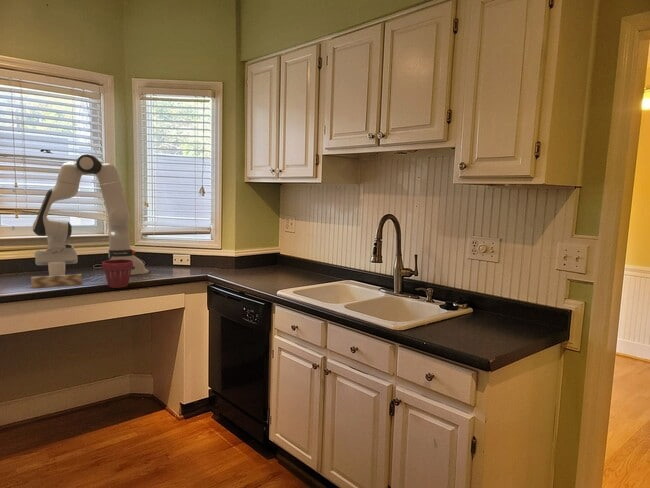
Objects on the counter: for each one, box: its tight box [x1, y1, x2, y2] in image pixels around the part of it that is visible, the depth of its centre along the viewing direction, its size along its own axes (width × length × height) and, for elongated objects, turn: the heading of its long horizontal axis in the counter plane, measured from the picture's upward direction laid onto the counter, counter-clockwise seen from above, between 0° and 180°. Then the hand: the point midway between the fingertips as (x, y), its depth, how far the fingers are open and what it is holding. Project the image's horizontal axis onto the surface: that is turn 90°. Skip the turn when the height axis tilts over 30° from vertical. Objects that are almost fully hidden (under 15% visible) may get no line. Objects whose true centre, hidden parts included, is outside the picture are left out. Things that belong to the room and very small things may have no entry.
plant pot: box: [101, 259, 133, 289], centre depth 237 cm, size 14×14×13 cm
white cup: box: [47, 262, 66, 276], centre depth 245 cm, size 8×8×10 cm
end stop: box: [30, 273, 83, 289], centre depth 235 cm, size 22×5×5 cm, turn 120°
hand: (57, 269), depth 252 cm, fingers closed
